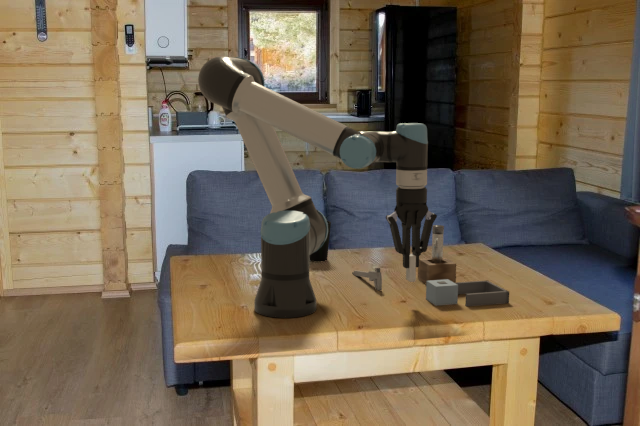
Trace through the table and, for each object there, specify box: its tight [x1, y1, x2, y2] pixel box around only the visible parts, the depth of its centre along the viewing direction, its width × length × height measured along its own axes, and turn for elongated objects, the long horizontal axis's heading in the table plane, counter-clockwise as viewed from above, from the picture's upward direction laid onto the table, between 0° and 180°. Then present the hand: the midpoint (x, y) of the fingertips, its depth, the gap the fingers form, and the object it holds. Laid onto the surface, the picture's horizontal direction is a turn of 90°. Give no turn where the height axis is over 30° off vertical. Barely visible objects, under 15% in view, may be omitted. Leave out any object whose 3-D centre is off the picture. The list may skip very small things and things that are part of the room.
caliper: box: [352, 267, 383, 292], centre depth 213 cm, size 20×1×6 cm, turn 18°
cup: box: [309, 220, 332, 263], centre depth 240 cm, size 8×8×12 cm
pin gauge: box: [431, 224, 445, 263], centre depth 214 cm, size 3×3×15 cm
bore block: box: [417, 257, 457, 285], centre depth 215 cm, size 8×8×6 cm
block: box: [425, 279, 459, 306], centre depth 195 cm, size 6×6×5 cm
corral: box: [455, 279, 510, 307], centre depth 197 cm, size 12×12×3 cm
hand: (410, 280), depth 192 cm, fingers closed
